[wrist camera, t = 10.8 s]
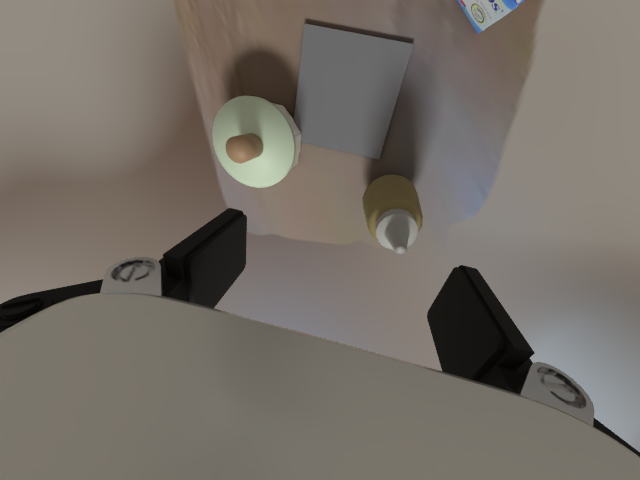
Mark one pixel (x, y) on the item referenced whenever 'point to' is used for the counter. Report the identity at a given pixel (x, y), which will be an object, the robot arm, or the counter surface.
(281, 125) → the lid
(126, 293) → the robot arm
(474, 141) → the counter surface
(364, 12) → the counter surface
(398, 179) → the squeeze bottle
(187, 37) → the counter surface
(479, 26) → the medicine box
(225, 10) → the counter surface
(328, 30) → the mat
